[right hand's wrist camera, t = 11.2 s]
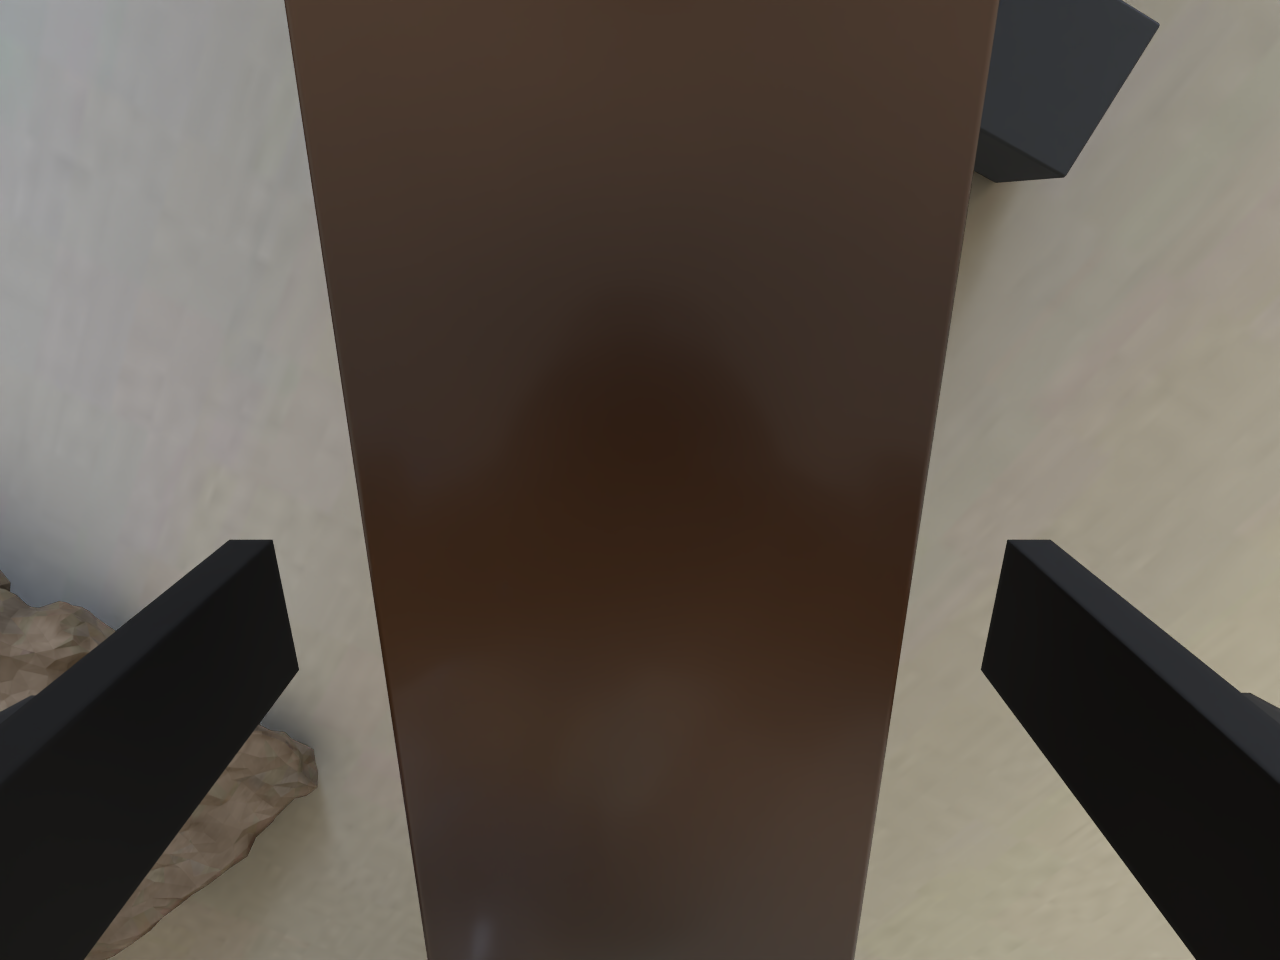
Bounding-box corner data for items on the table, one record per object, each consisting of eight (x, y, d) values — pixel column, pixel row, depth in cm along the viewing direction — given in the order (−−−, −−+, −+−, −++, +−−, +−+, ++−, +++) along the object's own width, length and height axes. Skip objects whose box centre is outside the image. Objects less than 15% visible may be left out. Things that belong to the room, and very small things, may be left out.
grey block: (996, 183, 23) (1065, 178, 19) (891, 126, 22) (941, 109, 19) (1072, 55, 22) (1162, 23, 18) (963, -10, 21) (1033, -57, 17)
